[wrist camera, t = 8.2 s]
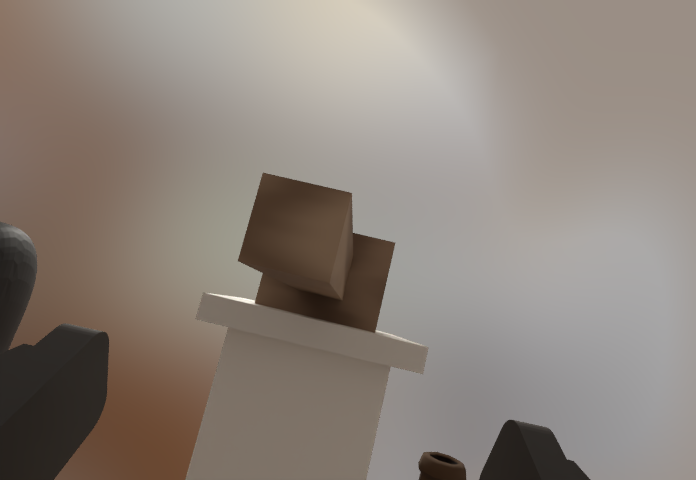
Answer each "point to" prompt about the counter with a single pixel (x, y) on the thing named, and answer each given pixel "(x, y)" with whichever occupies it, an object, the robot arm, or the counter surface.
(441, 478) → the beer bottle
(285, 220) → the mallet
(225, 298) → the stand
